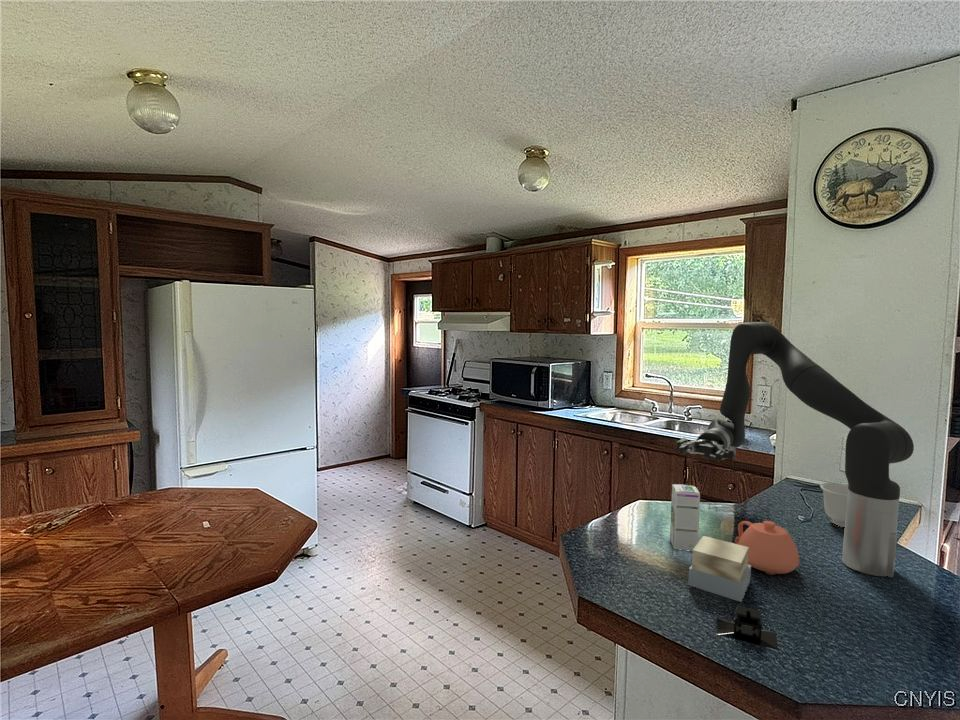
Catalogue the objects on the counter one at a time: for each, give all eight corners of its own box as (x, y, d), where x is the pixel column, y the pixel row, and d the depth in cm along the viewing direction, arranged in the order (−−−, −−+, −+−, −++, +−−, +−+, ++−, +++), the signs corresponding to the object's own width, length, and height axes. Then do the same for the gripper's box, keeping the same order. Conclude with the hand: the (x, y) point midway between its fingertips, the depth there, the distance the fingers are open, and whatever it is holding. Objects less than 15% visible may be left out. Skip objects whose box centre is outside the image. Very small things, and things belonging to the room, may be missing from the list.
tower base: (749, 583, 108) (751, 565, 108) (741, 603, 100) (742, 584, 100) (700, 568, 114) (701, 551, 114) (688, 586, 106) (689, 568, 106)
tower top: (747, 565, 107) (748, 547, 107) (739, 582, 100) (741, 563, 100) (702, 553, 113) (703, 535, 112) (691, 568, 106) (692, 549, 105)
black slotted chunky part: (707, 637, 89) (709, 612, 89) (708, 616, 96) (709, 592, 95) (790, 659, 84) (792, 633, 84) (784, 634, 91) (786, 610, 90)
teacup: (867, 519, 145) (870, 485, 145) (873, 537, 133) (876, 500, 132) (816, 510, 152) (819, 477, 151) (817, 526, 139) (820, 490, 138)
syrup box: (698, 552, 121) (702, 492, 120) (672, 549, 123) (675, 490, 121) (693, 542, 127) (696, 485, 126) (668, 539, 128) (671, 483, 127)
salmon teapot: (776, 584, 107) (779, 537, 106) (717, 556, 120) (720, 514, 119) (810, 572, 113) (813, 527, 112) (751, 547, 125) (754, 506, 124)
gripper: (688, 425, 149) (672, 435, 136) (742, 434, 141) (730, 445, 128) (686, 451, 150) (670, 462, 137) (740, 460, 141) (727, 474, 128)
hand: (699, 454), depth 132 cm, fingers open, 8 cm apart
